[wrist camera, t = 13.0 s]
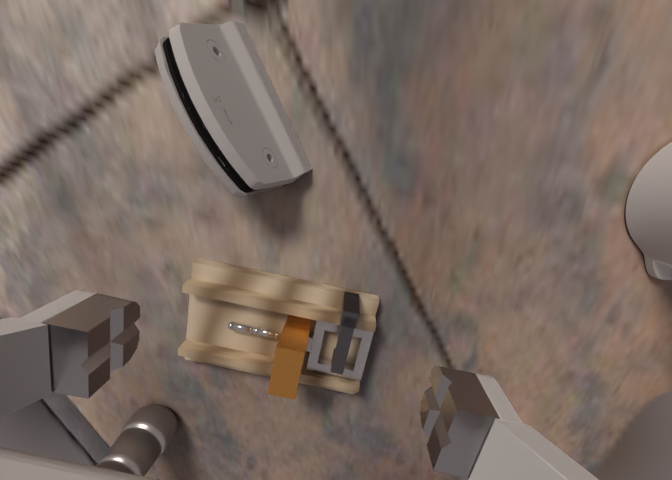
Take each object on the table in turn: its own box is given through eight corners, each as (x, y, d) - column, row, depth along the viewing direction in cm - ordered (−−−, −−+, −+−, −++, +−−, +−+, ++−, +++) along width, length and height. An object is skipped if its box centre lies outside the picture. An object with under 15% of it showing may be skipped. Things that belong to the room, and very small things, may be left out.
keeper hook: (359, 293, 38) (359, 314, 33) (345, 350, 40) (344, 377, 36) (344, 290, 38) (343, 310, 33) (331, 347, 40) (328, 373, 36)
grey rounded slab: (314, 172, 36) (265, 196, 28) (282, 187, 38) (229, 213, 30) (241, 19, 32) (160, -7, 24) (211, 46, 34) (127, 30, 26)
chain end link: (373, 326, 39) (377, 363, 32) (360, 374, 41) (361, 418, 34) (232, 296, 39) (207, 327, 32) (226, 346, 41) (201, 384, 34)
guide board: (378, 295, 40) (380, 309, 36) (354, 386, 44) (354, 406, 40) (198, 258, 40) (183, 268, 36) (190, 352, 44) (176, 369, 40)
